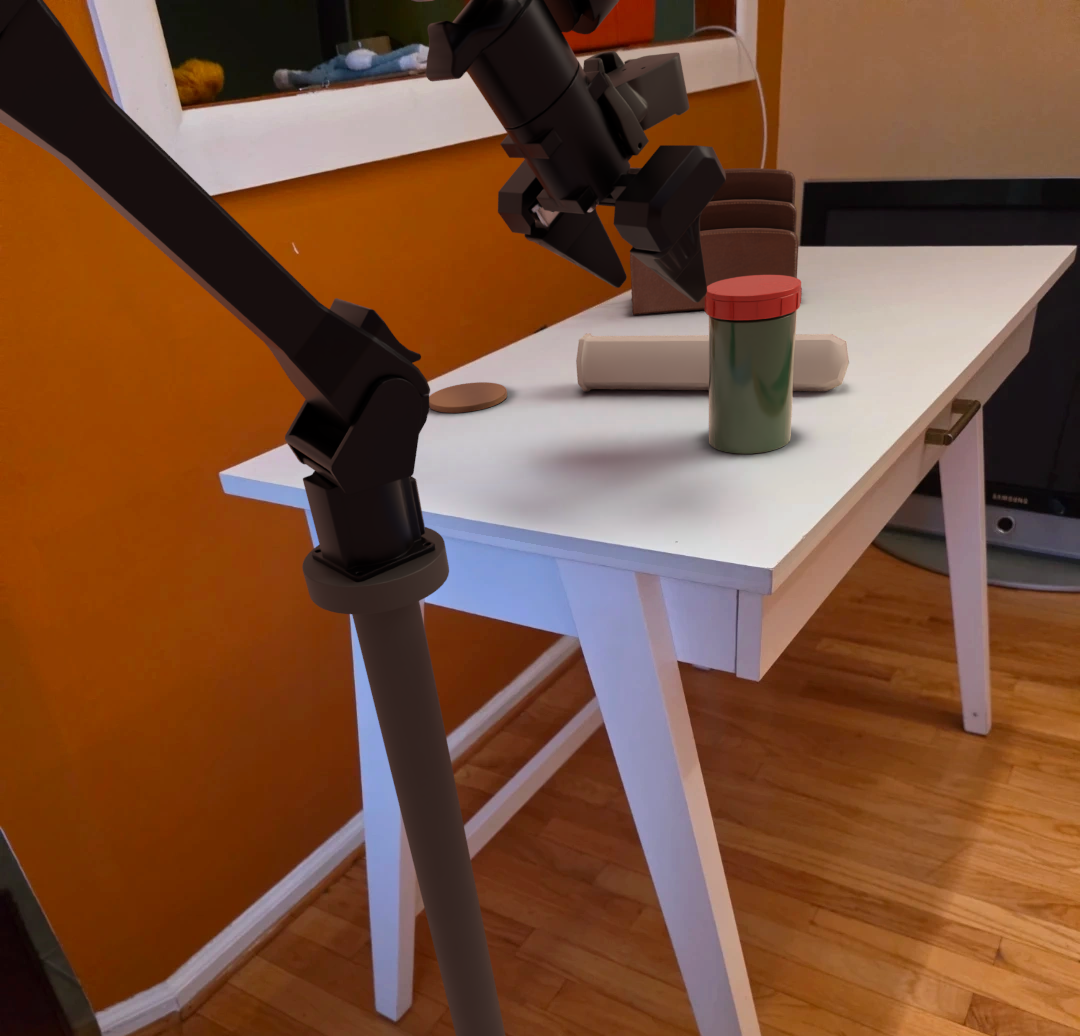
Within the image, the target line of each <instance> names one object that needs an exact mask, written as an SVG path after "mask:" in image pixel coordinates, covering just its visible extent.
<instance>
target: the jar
mask: <svg viewBox="0 0 1080 1036" xmlns="http://www.w3.org/2000/svg"><path fill="white" fill-rule="evenodd" d="M797 315H798V309H797V310H796V311H794V312H792V313H789V314H786V315H783V316H778V317H773V318H767V319H758V320H724V319H718V318H714V317H711V316H709V315H708V335H709V390H708V444H709V445H710V446H711V447H712V448H713V449H715V450H717V451H720V452H724V453H730V454H741V455H751V454H762V453H766V452H771V451H775V450H778V449H780V448H781V449H782V448H783V447H785V446H786V445H788V444H789V443H790V441H791V437H792V435H791V434H792V417H793V416H792V415H793V397H794V391H793V379H794V358H795V338H796V335H797V334H796V333H797Z"/></svg>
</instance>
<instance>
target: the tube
mask: <svg viewBox="0 0 1080 1036" xmlns="http://www.w3.org/2000/svg"><path fill="white" fill-rule="evenodd" d="M575 362H576V363H575V366H576V376H577V379H576V380H577V384H578V385H579V387H580V388H581V389H582V391H583V392H590V391H591V390H641V391H642V390H646V391H647V390H651V391H652V390H653V391H654V390H655V391H656V390H657V391H659V390H660V391H662V390H663V391H709V334H699V335H698V334H695V335H694V334H693V335H691V334H690V335H689V334H688V335H687V334H685V335H592V333H584V335H583V336H582V337H580V338H579V339H578V345H577V352H576V360H575ZM849 364H850V358H849V351H848V342H847V340H844V339H843V338H841V337H838V336H837V335H834V334H833V333H823V334H822V333H821V334H819V333H815V334H814V333H813V334H812V333H811V334H810V333H807V334H800V333H799V334H796V338H795V358H794V379H793V392H828V391H830V390H832V389H835V388H838V387H840V386H842V385H843V383H844V379H845V376H846V373H847V372H848V371H847V370H848V369H849Z"/></svg>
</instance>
